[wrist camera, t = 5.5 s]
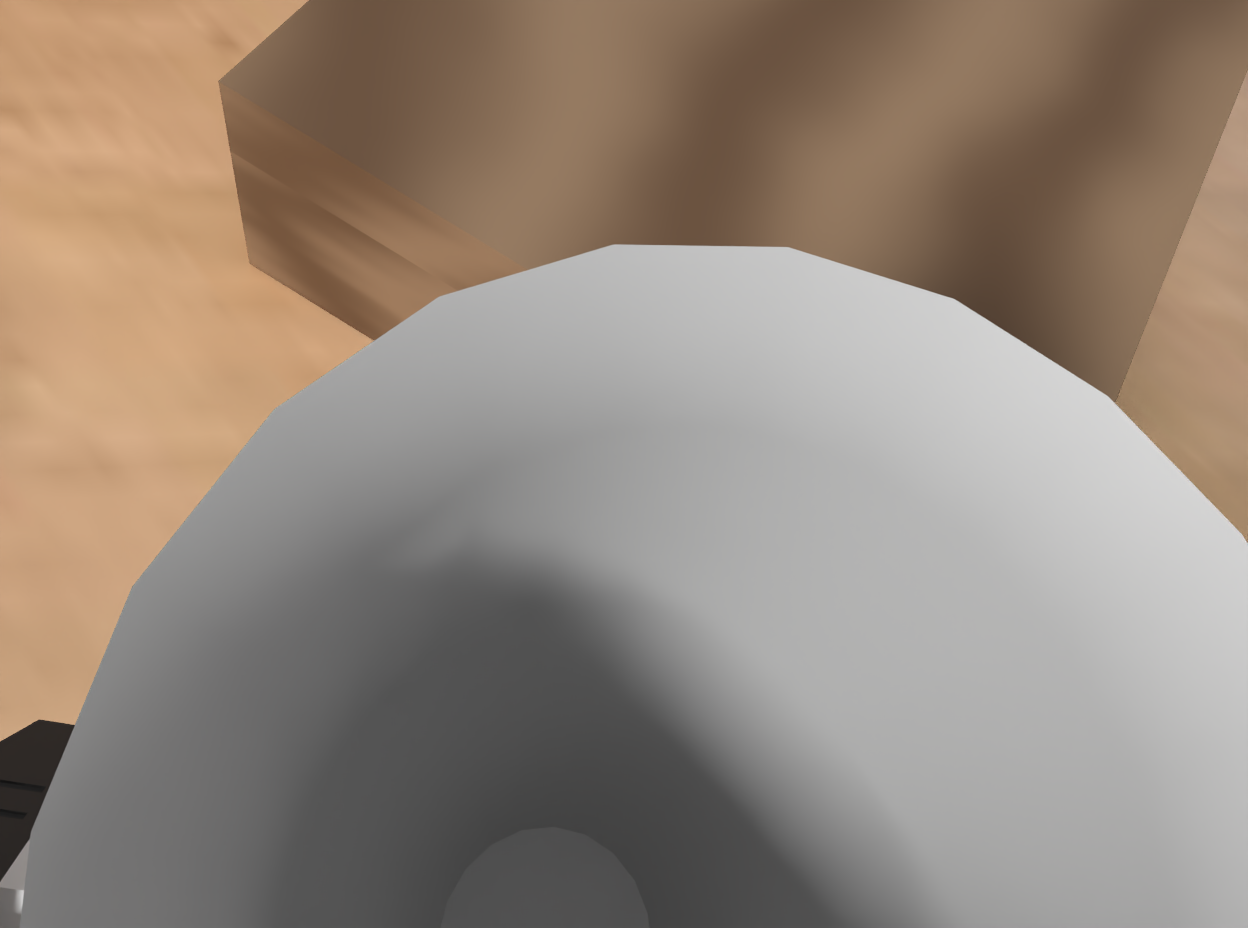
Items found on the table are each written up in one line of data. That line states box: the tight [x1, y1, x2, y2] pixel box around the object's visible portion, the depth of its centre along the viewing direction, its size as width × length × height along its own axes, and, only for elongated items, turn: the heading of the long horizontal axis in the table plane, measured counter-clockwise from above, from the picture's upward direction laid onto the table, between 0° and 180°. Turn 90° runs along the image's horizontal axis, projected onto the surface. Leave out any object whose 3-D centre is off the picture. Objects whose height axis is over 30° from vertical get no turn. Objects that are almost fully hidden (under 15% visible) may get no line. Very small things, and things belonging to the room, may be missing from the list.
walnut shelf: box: [218, 0, 1248, 403], centre depth 28 cm, size 18×22×6 cm
